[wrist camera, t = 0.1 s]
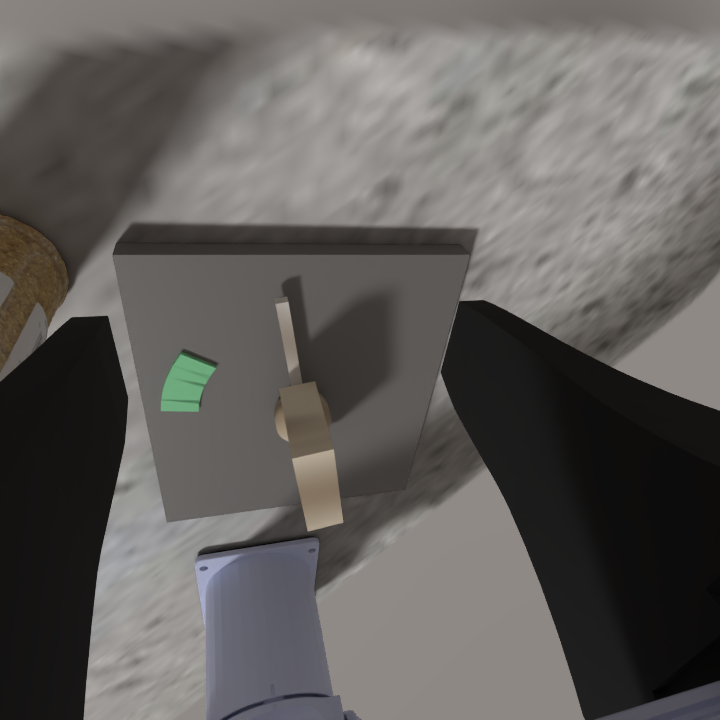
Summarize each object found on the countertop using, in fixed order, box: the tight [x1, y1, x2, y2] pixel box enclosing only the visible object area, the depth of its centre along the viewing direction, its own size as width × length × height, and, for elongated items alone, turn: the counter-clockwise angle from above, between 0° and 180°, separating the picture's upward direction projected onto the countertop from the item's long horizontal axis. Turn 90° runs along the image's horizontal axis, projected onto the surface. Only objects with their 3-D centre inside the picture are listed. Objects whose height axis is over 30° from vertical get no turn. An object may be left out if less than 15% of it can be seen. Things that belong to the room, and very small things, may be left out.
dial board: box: [113, 243, 470, 522], centre depth 24 cm, size 16×14×1 cm
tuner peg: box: [274, 297, 343, 531], centre depth 20 cm, size 9×3×5 cm, turn 3°
